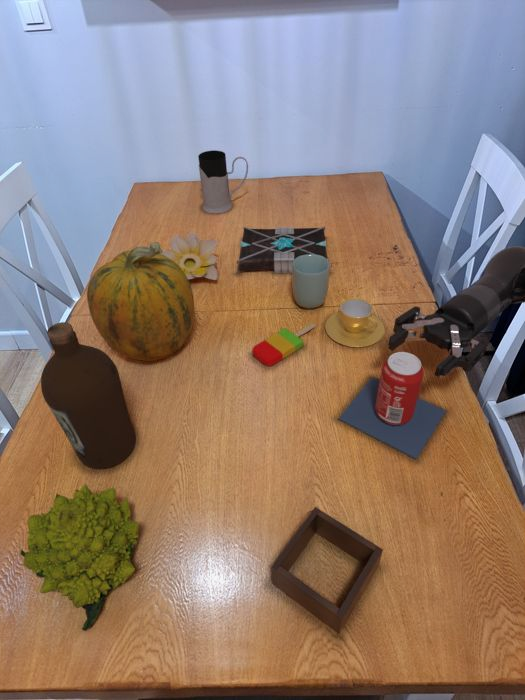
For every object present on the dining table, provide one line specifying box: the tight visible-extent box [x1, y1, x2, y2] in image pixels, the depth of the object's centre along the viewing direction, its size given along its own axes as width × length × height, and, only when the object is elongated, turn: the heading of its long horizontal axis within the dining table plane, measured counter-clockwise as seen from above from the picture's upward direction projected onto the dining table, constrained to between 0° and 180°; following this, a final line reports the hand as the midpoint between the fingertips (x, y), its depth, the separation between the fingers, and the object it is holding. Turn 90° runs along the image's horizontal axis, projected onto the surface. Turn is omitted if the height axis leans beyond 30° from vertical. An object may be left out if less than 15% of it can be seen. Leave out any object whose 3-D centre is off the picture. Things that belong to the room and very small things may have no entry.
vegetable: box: [20, 483, 140, 632], centre depth 63 cm, size 15×16×15 cm
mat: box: [338, 376, 447, 460], centre depth 83 cm, size 14×12×1 cm
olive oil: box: [40, 321, 137, 470], centre depth 72 cm, size 11×11×25 cm
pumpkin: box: [86, 241, 195, 362], centre depth 91 cm, size 19×19×25 cm
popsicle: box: [252, 323, 316, 367], centre depth 97 cm, size 6×15×2 cm, turn 131°
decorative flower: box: [160, 231, 219, 281], centre depth 114 cm, size 15×11×10 cm
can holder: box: [270, 506, 384, 635], centre depth 62 cm, size 10×10×5 cm
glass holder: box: [197, 149, 249, 214], centre depth 139 cm, size 9×14×15 cm, turn 100°
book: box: [236, 225, 330, 274], centre depth 121 cm, size 22×17×5 cm
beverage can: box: [375, 351, 425, 425], centre depth 79 cm, size 6×6×12 cm
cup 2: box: [324, 297, 386, 348], centre depth 98 cm, size 12×12×5 cm
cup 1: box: [291, 254, 331, 310], centre depth 104 cm, size 8×8×10 cm
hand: (413, 358), depth 77 cm, fingers open, 8 cm apart
